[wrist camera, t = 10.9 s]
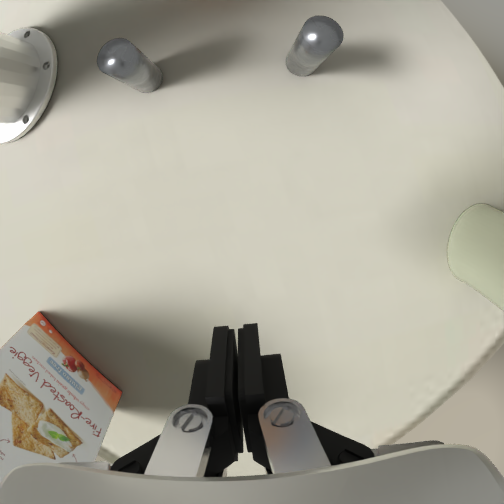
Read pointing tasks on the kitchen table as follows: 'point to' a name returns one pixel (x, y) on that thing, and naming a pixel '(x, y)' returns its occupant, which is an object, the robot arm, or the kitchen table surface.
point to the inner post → (129, 65)
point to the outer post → (314, 45)
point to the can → (479, 251)
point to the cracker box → (50, 400)
